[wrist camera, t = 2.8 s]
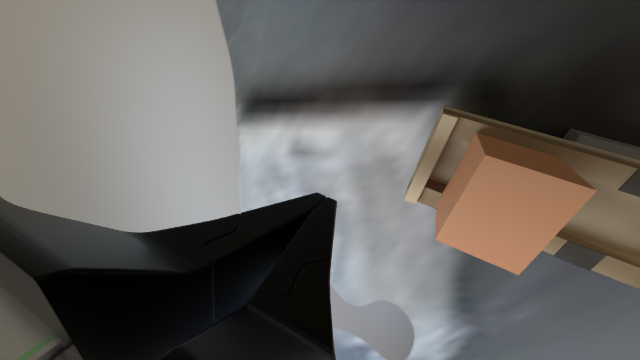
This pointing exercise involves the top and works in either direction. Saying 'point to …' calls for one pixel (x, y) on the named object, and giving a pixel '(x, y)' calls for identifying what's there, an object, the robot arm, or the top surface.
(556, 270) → the top surface
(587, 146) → the wooden tray
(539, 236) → the block
